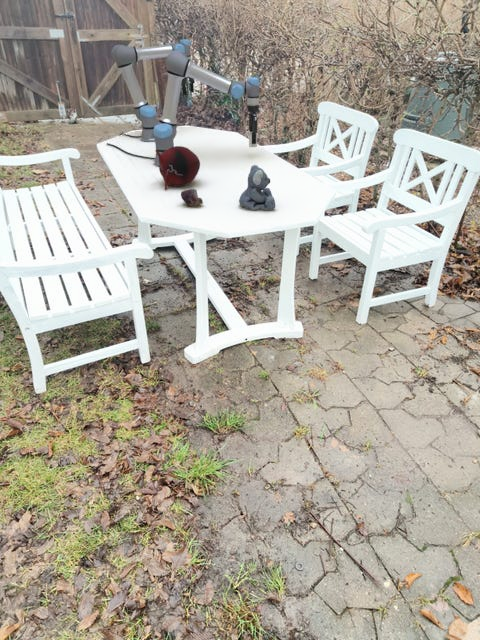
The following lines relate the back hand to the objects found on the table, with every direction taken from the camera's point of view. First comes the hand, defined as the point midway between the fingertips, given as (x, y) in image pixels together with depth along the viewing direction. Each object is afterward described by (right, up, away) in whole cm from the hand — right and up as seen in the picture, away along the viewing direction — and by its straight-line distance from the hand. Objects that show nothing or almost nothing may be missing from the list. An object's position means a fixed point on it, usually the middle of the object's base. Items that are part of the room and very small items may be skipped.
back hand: (188, 93), depth 357 cm
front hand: (+50, -62, -57) cm, 98 cm away
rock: (+16, -121, -126) cm, 176 cm away
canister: (+50, -64, -56) cm, 98 cm away
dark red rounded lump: (+6, -101, -97) cm, 140 cm away
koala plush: (+50, -122, -128) cm, 184 cm away
